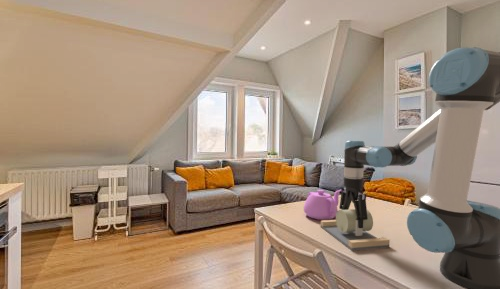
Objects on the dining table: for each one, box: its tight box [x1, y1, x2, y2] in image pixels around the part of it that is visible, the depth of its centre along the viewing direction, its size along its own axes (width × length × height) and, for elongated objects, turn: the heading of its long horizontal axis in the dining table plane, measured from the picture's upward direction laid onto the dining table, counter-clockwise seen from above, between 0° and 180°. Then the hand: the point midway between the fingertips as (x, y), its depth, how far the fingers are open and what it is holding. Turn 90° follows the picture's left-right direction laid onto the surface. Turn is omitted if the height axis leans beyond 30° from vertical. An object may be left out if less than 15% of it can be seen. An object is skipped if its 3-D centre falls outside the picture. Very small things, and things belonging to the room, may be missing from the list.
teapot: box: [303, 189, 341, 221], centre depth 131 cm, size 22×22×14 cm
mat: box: [320, 219, 390, 252], centre depth 105 cm, size 24×16×3 cm, turn 11°
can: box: [335, 208, 374, 233], centre depth 105 cm, size 9×9×12 cm
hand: (351, 230), depth 105 cm, fingers closed on can, 9 cm apart
